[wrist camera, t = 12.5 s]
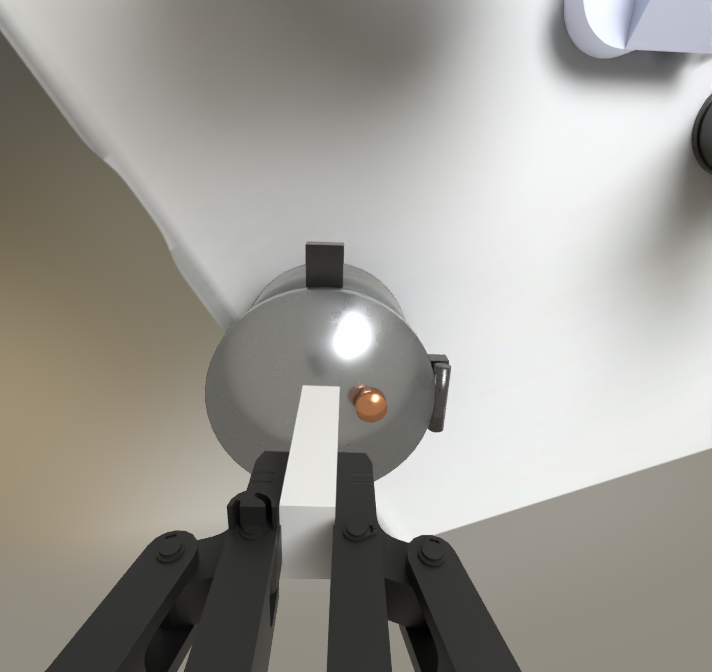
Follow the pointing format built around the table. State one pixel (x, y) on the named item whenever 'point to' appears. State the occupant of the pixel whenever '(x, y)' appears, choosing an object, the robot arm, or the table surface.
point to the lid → (324, 377)
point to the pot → (334, 280)
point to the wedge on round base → (639, 26)
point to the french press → (704, 136)
